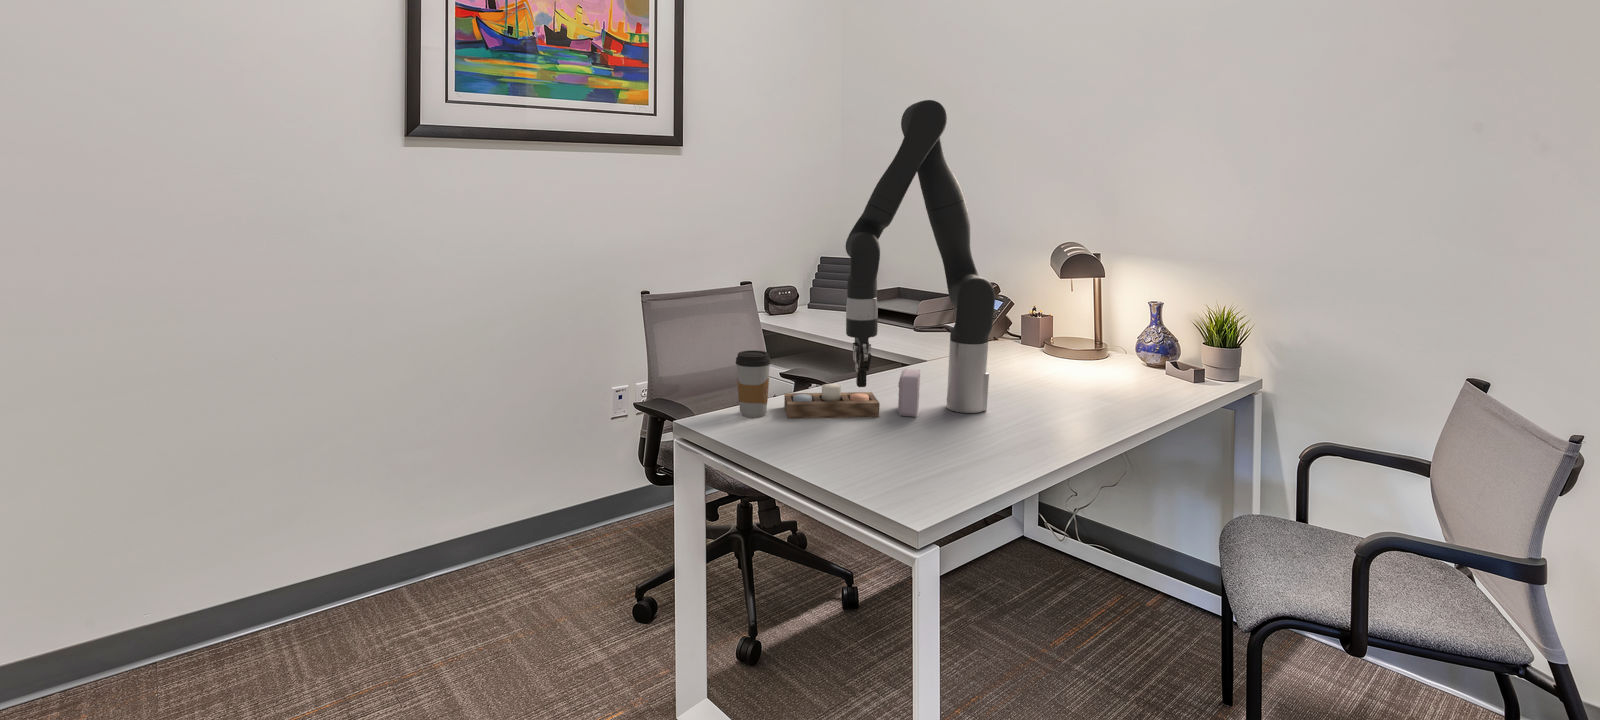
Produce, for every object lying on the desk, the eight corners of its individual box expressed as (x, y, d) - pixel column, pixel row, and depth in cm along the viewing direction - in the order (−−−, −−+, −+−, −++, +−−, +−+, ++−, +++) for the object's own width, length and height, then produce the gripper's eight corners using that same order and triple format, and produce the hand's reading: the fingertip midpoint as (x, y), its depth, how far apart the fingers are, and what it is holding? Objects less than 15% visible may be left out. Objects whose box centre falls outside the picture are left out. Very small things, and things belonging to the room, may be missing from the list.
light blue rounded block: (810, 406, 194) (810, 393, 193) (812, 411, 189) (812, 398, 189) (792, 406, 193) (792, 394, 193) (793, 412, 189) (793, 399, 188)
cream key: (839, 396, 194) (839, 383, 193) (841, 401, 190) (842, 388, 189) (820, 396, 194) (820, 383, 193) (822, 401, 189) (823, 388, 188)
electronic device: (900, 405, 198) (901, 367, 196) (918, 407, 197) (920, 368, 195) (896, 417, 189) (898, 376, 187) (916, 418, 188) (918, 377, 186)
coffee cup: (765, 420, 185) (765, 358, 181) (731, 418, 186) (731, 356, 183) (774, 410, 193) (774, 351, 189) (741, 408, 194) (740, 349, 191)
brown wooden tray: (871, 405, 198) (871, 392, 197) (879, 417, 188) (879, 402, 188) (784, 406, 196) (784, 393, 195) (787, 418, 186) (787, 404, 186)
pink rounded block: (866, 405, 195) (867, 393, 195) (870, 410, 191) (870, 398, 190) (848, 405, 195) (848, 393, 194) (851, 411, 190) (851, 398, 190)
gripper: (882, 320, 182) (881, 392, 186) (872, 311, 194) (871, 379, 198) (850, 321, 181) (850, 394, 185) (842, 312, 194) (842, 380, 198)
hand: (861, 386), depth 192 cm, fingers closed
